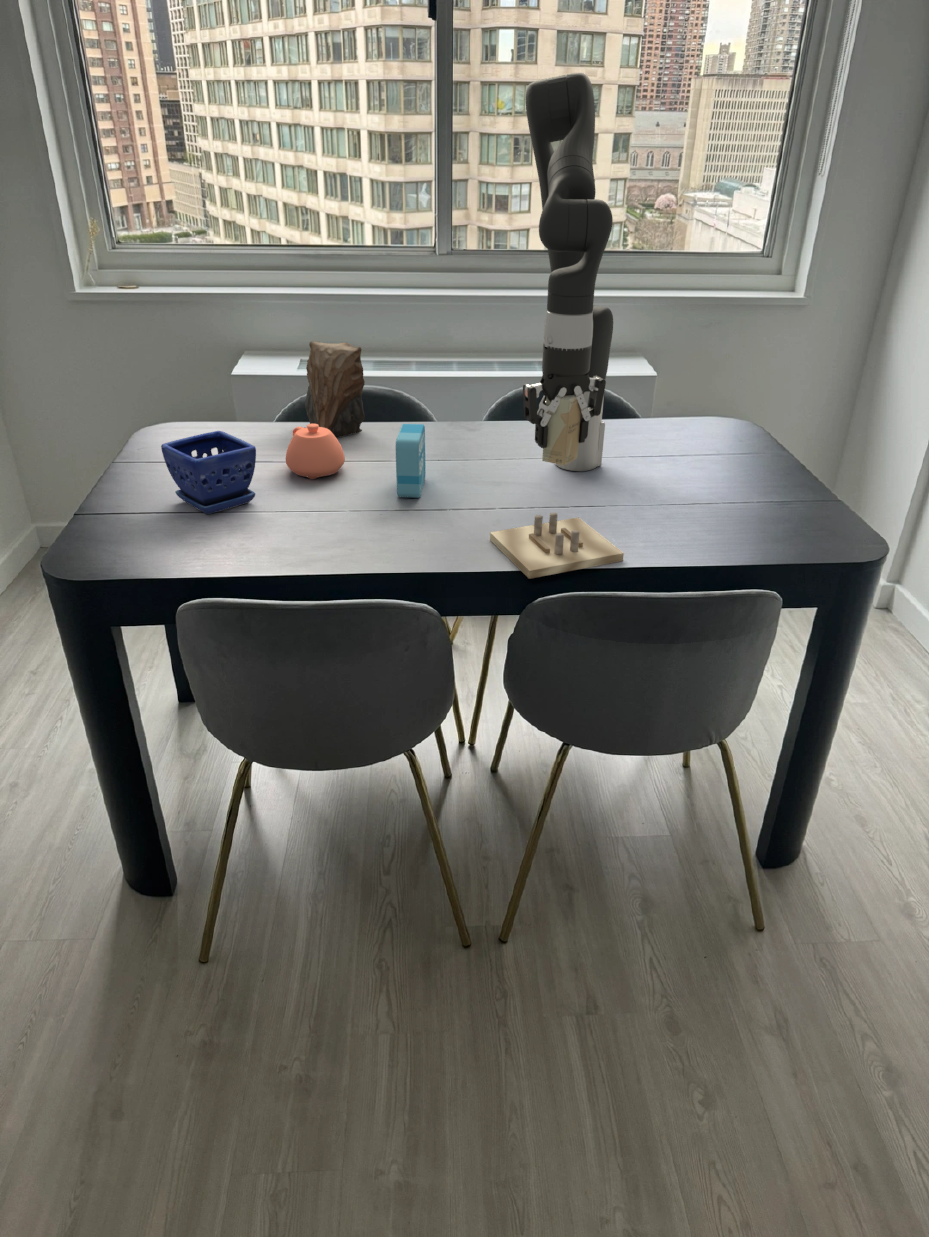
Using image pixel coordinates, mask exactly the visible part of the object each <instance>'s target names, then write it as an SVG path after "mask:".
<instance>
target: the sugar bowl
mask: <svg viewBox="0 0 929 1237" xmlns="http://www.w3.org/2000/svg"><path fill="white" fill-rule="evenodd" d="M285 452H286V453H285V464H286V466H287V468H289V470H290V471H292V472H293V473H294V474H296V475H297V476H300V477H301V476H302V477H306V478H308V479H310V480H316V479H318V478H320V477H326V476H327V477H328V476H330V475H333V474H336V473H337V472H338V471H340V469H341V468H342V467H343V465H344V463H345V460H346V459H345V458H346V457H345V453H344V449H343V447H342V445H341V443H340V441H339V440H338V438H336V437H335V436H334V434H333V433H332V432H331V431H330V430H329V429H327V428H323V427H319V425H318V424H310V423H309V424H307V425H306V427H302V426H296V427H294V428H293V429H292V438H291V440H290V441H289V443H288V446H287V448H286V451H285Z"/></svg>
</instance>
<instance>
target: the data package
mask: <svg viewBox="0 0 929 1237" xmlns="http://www.w3.org/2000/svg"><path fill="white" fill-rule="evenodd" d="M398 431H399V432H398V434H397V437H396V440H395V469H396V470H395V471H396V472H395V474H396V494H397V495H396V497H397V498H411V499H413V498H414V499H415V498H416V499H418V498H421V496H422V492H423V488H424V485H425V480H426V426H425V424H423V423H421V424H419V423H418V424H417V423H402V424H401V427H400V430H398Z"/></svg>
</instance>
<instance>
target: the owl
mask: <svg viewBox="0 0 929 1237" xmlns="http://www.w3.org/2000/svg"><path fill="white" fill-rule="evenodd" d="M309 348H310V352H309V355H308V359H307V362H306V378H307V381H308V386H307V390H306V398H305V401H304V407H305V411H306V416H307V418H308V421H309V424H318V425H319V427H323V428H327V429H329V430H330V431H331V432H332V433H333V434H334V436H335V437H336V438H337V439H338V438H340V437H341V438H342V437H346V436H350V435H353V434H354V435H356V434H360V433H361V432H362V431H363V429H361V425H362V422H364V420H365V412H364V402H363V400H362V395H363V390H364V387H365V385H366V384H365V382H366V381H365V379H364V366H363V363H362V359H361V357H362V356H361V355H362V347H361V346H358V347H356V346H354V345H352V344H350V343H348V342H340V343H333V342H332V343H329V342H328V343H325V342H321V341H313V340H312V341H309Z"/></svg>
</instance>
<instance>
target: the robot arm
mask: <svg viewBox="0 0 929 1237" xmlns="http://www.w3.org/2000/svg"><path fill="white" fill-rule="evenodd" d="M595 104H596V103H595V96H594V88H593V85H592V82H591V80H590V77H588V75H587V74H586V73H584V72H572V73H566V74H562V75H558V76H553V77H548V78H543V79H539V80H538V79H537V80H536V81H532V82H530V83H529V84H528V85H527V88H526V90H525V113H526V119H527V124H528V125H527V126H528V130H529V135H530V140H531V146H532V150H533V155H534V160H535V168H536V171H537V176H538V181H539V182H538V183H539V190H540V197H541V198H540V199H541V210H542V211H541V214H540V218H539V222H538V235H539V236H538V237H539V239H540V241H541V243H542V245H543V246H544V248H546V249H547V253H548V255H547V256H548V259H549V266H550V274H549V277H548V284H547V302H546V314H545V320H544V328H543V344H542V362H541V364H542V365H541V371H542V376H541V379H540V380H539V382H537V383H533V384H529V383H527V382H526V383H524V384H523V386H522V394H523V396H522V398H523V400H522V401H523V416H524V419H525V420H526V421H528V423H530V424H532V425H535V426H534V427H535V428H534V442H535V443H536V444H537V446H538V447H539V448H541V449H543V448H546V447H547V437H548V426H547V423H548V421H549V419H550V417H551V415H553V414H554V413H555V411H556V409H557V407H558V405H559V401H560V399H561V398H564V396H568V395H575V396H576V397H577V402H578V406H579V410H580V412H581V419H580V432H579V444H578V455H577V458H576V459H574V460H573V461H571V462H570V463H568V464H566V465H559V464H555V466H557V467H558V468H560V469H563V470H567V471H571V472H572V471H573V472H586V471H592V470H594V469H596V468H597V467H601V466H602V461H603V451H604V442H605V441H604V440H605V430H606V423H605V422H604V421H602V420H603V410H604V398H605V397H604V396H605V389H606V384H607V382H606V378H607V375H608V368H609V360H610V353H611V345H612V339H613V333H614V315H613V312H612V310H611V309H610V308H609V307H606V306H603V305H595V304H594V303H595V302H594V301H595V300H594V299H595V289H596V282H597V276H598V272H599V268H600V265H601V261H602V259H603V256H604V254H605V253H604V252H605V250H606V247H607V245H608V243H609V239H610V236H611V232H612V229H613V223H614V222H613V220H614V219H613V212H612V210H611V207H610V206H609V204H608V203H607V202H606V201H604V200H602V199H595V198H596V193H597V192H596V182H595V181H596V180H595V175H594V164H593V155H594V145H595V144H594V143H595V134H596V133H595V132H596V129H595V128H596V105H595ZM559 141H560V143H559V144H558V146H557V147H556V148H555V150H554V147H553V145H552V143H554V142H559ZM541 392H542V394H543V397H542V398H541V400H540V402H539V404H538V402H537V399H538V398H539V397H540V393H541ZM546 396H547V398H548V400H549V401H550V402H551V403H550V405H549V406H546Z"/></svg>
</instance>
